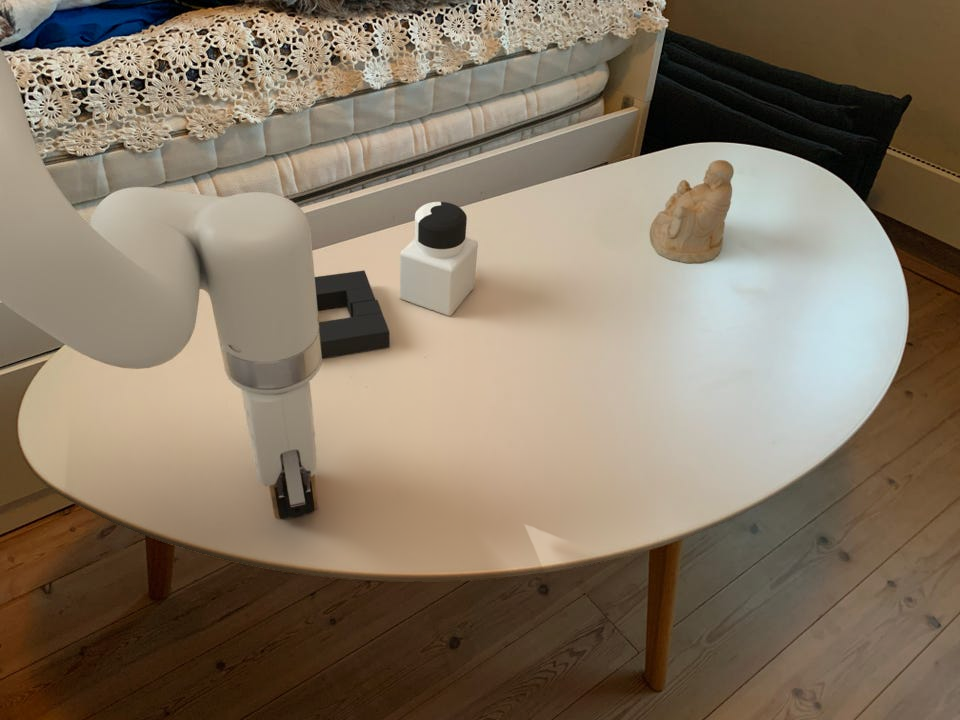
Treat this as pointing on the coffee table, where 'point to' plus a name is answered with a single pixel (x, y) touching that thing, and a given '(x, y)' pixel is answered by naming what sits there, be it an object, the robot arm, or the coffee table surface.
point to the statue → (695, 217)
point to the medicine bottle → (438, 259)
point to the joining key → (272, 491)
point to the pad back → (342, 290)
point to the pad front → (355, 331)
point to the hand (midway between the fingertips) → (292, 492)
